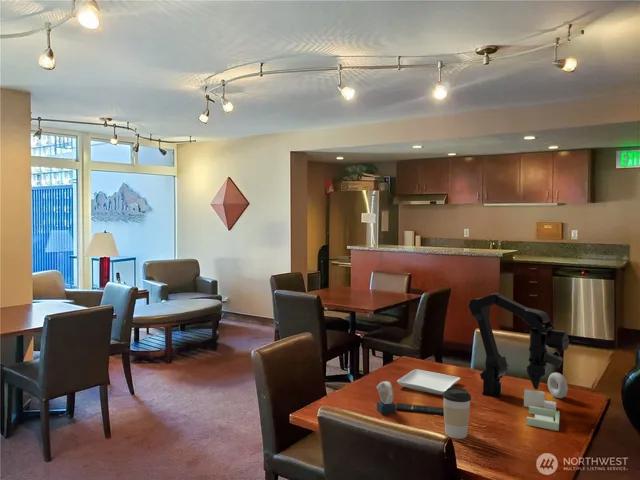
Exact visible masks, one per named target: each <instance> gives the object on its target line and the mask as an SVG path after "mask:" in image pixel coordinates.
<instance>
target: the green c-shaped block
mask: <svg viewBox="0 0 640 480" xmlns="http://www.w3.org/2000/svg"><path fill="white" fill-rule="evenodd" d="M528 414H530V415H534V416H535V415H541V416H548V417H553V419H554V420H553V421H548V420H543V419H537V418H535V417H530V416H526V426H530V427H536V428H542V429H546V430H551V431H557V432H558V431H559V429H560V410H558V409H556V410H551V409H545V408H539V407H534V406H529V407H528Z"/></svg>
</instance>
